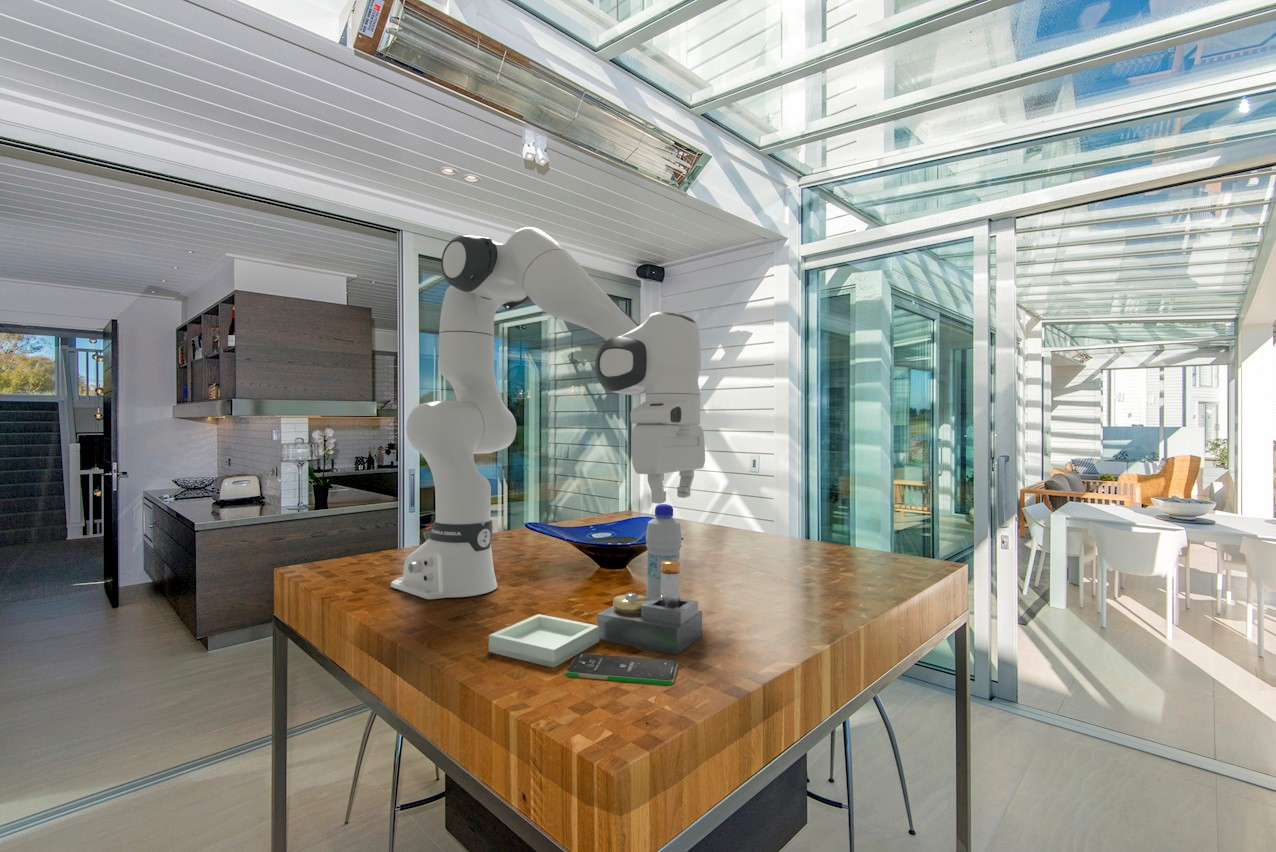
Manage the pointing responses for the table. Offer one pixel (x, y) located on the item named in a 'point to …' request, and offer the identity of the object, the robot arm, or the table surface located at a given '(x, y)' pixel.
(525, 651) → the tray
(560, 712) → the table surface
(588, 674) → the smartphone
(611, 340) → the robot arm
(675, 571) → the lock pin
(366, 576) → the table surface
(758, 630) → the table surface
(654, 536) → the bottle
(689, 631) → the grey stepped block
